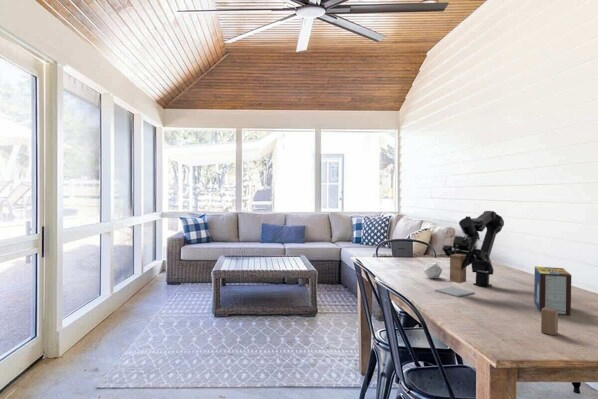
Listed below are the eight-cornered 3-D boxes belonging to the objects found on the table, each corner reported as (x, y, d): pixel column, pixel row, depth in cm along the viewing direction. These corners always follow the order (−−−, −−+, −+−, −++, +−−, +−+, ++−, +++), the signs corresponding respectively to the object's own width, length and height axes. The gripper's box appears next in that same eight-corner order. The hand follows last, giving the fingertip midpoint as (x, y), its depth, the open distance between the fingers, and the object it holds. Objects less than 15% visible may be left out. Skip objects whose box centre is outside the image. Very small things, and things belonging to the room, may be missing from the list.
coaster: (452, 287, 190) (452, 286, 190) (474, 293, 180) (474, 292, 180) (435, 291, 184) (435, 289, 184) (457, 297, 173) (457, 295, 173)
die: (439, 281, 206) (447, 265, 209) (423, 272, 207) (431, 256, 210) (433, 284, 214) (441, 268, 217) (419, 275, 215) (426, 259, 218)
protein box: (562, 305, 162) (563, 267, 162) (571, 316, 148) (572, 275, 148) (533, 302, 166) (534, 265, 166) (538, 312, 152) (539, 272, 152)
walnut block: (455, 279, 182) (456, 253, 182) (466, 281, 178) (466, 255, 178) (449, 281, 179) (450, 255, 179) (460, 283, 175) (460, 256, 175)
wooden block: (544, 330, 132) (544, 306, 132) (558, 333, 129) (558, 309, 129) (540, 332, 130) (541, 308, 130) (554, 336, 127) (555, 311, 127)
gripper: (444, 228, 188) (431, 253, 181) (482, 231, 173) (469, 259, 166) (453, 242, 193) (440, 268, 186) (491, 247, 178) (478, 275, 171)
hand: (456, 267), depth 177 cm, fingers closed on walnut block, 5 cm apart
